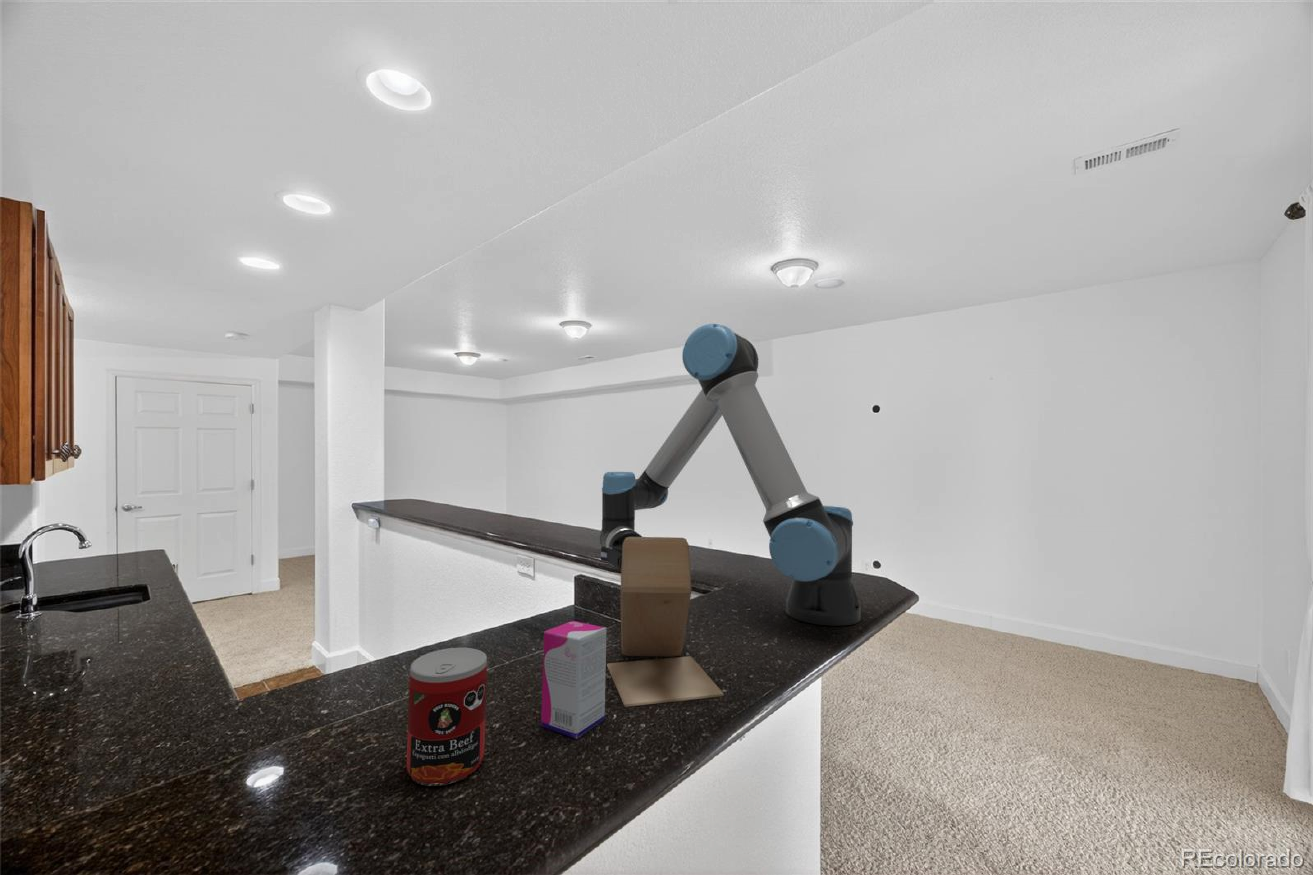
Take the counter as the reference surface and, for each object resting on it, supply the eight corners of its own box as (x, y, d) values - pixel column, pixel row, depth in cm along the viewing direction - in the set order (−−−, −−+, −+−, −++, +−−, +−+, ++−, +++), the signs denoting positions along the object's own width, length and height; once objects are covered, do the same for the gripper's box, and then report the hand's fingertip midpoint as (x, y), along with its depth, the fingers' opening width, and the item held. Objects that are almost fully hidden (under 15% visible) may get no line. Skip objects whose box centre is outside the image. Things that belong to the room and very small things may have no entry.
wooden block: (682, 659, 86) (692, 594, 73) (621, 658, 86) (620, 592, 72) (679, 603, 94) (688, 535, 80) (623, 602, 93) (622, 533, 80)
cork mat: (691, 658, 87) (691, 656, 87) (723, 696, 73) (723, 693, 73) (606, 665, 83) (606, 663, 83) (624, 706, 69) (624, 704, 69)
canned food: (399, 795, 51) (403, 679, 51) (413, 750, 58) (416, 650, 59) (483, 782, 53) (486, 671, 53) (485, 741, 61) (488, 644, 61)
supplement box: (606, 718, 66) (608, 626, 67) (576, 740, 61) (578, 640, 62) (570, 706, 69) (572, 618, 70) (539, 726, 64) (541, 631, 64)
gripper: (658, 563, 113) (692, 590, 91) (591, 566, 110) (609, 594, 87) (659, 528, 114) (693, 546, 91) (592, 529, 110) (610, 549, 87)
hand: (652, 570), depth 89 cm, fingers closed
